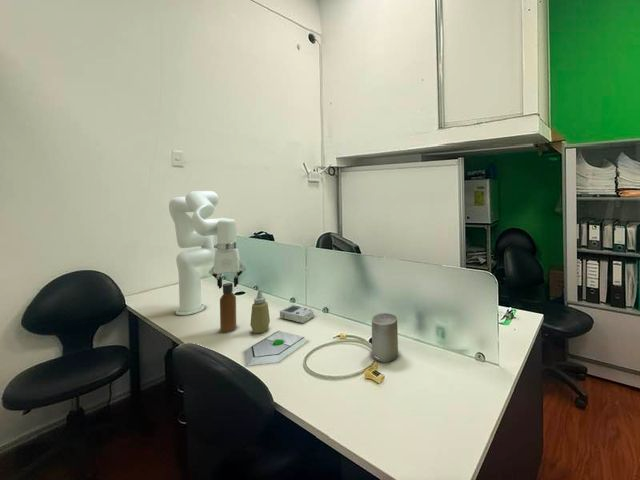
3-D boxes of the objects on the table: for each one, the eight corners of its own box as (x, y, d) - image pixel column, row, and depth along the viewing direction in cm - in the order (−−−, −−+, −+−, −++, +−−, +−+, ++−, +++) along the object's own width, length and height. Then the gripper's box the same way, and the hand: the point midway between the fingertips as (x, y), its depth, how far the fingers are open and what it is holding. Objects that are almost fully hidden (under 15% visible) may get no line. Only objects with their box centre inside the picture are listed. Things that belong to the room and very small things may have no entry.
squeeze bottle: (263, 335, 127) (262, 293, 127) (246, 334, 128) (245, 292, 128) (273, 327, 135) (273, 287, 134) (257, 325, 136) (257, 286, 136)
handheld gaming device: (302, 324, 137) (302, 315, 137) (279, 318, 144) (279, 310, 144) (315, 317, 145) (315, 309, 145) (292, 311, 152) (292, 304, 152)
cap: (224, 291, 135) (223, 283, 135) (233, 290, 136) (233, 282, 136) (222, 294, 131) (221, 285, 131) (231, 293, 132) (231, 285, 132)
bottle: (222, 327, 135) (221, 283, 135) (237, 325, 137) (236, 282, 137) (218, 333, 129) (217, 288, 129) (234, 331, 131) (234, 286, 131)
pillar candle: (394, 346, 116) (394, 308, 116) (400, 361, 106) (399, 319, 106) (370, 349, 114) (369, 310, 114) (373, 364, 105) (373, 321, 104)
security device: (230, 360, 108) (230, 354, 108) (276, 333, 129) (276, 328, 129) (264, 372, 101) (264, 366, 101) (307, 341, 121) (307, 336, 121)
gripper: (203, 249, 127) (204, 291, 127) (246, 246, 132) (247, 287, 132) (208, 246, 134) (208, 286, 134) (249, 243, 139) (250, 282, 139)
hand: (228, 286), depth 133 cm, fingers open, 5 cm apart
